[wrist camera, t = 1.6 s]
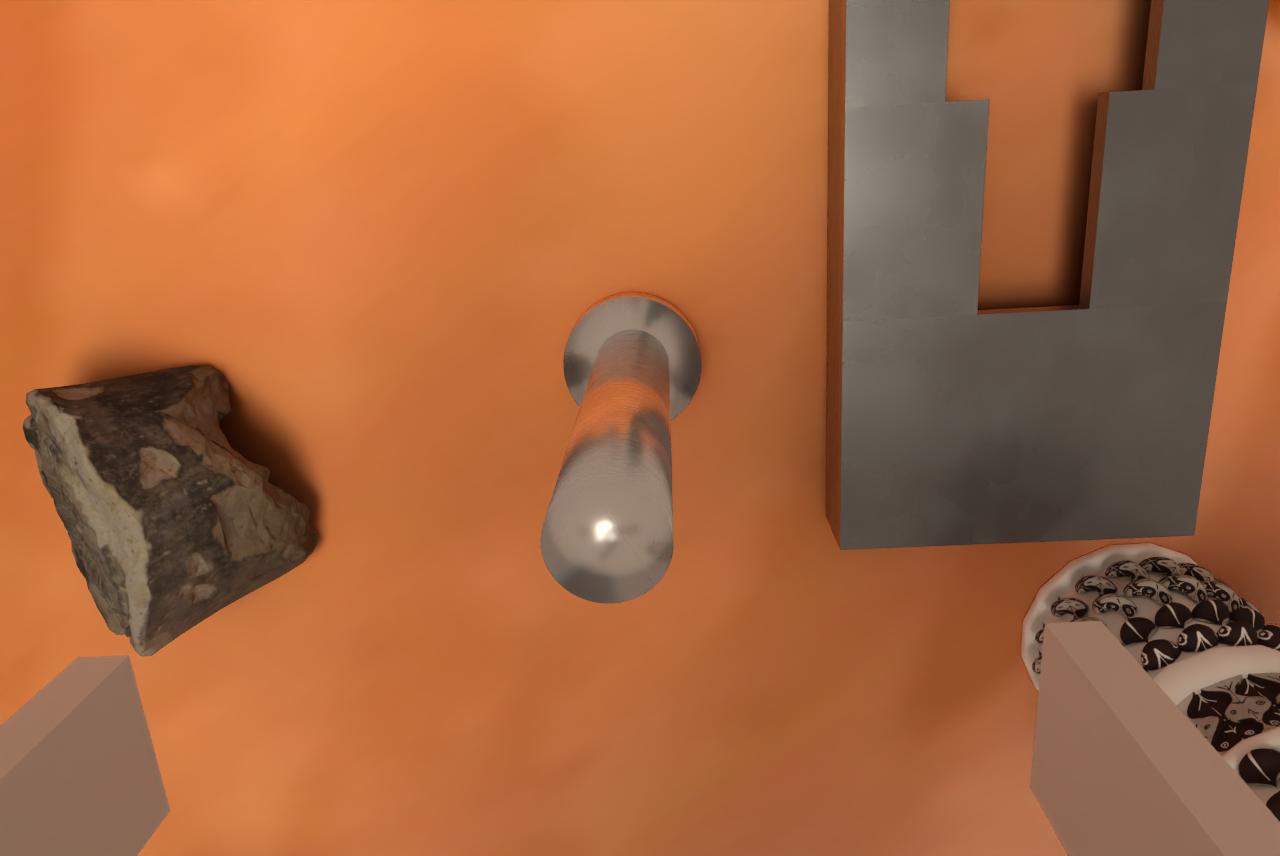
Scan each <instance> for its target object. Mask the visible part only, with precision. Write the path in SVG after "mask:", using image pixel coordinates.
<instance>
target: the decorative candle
mask: <svg viewBox="0 0 1280 856" xmlns="http://www.w3.org/2000/svg"><path fill="white" fill-rule="evenodd" d="M1088 621H1102V623H1103V624H1104V625H1105V626H1106V627H1107V628H1108V629H1109V630H1110V632H1111V633H1112V634H1113V635H1114V636H1115V637H1116V638H1117V639H1118V641H1119V642H1120V643H1121V644H1122V645H1123V646H1124V647H1125V648H1126V650H1127V651H1128V652H1129V653H1130V654H1131V655H1132V656H1133V657H1134V659H1135V660H1136V661H1137V662H1138V663H1139V664H1140V665H1141V666H1142V668H1143V669H1144V670H1145V671H1146V672H1147V673H1148V674H1149V675H1150V677H1151V678H1152V679H1153V680H1154V681H1155V682H1156V683H1157V684H1158V686H1159V687H1160V688H1161V689H1162V690H1163V691H1164V692H1165V693H1166V694H1167V696H1168V697H1169V698H1170V699H1171V700H1172V701H1173V702H1174V703H1175V705H1176V706H1177V707H1178V708H1179V709H1180V710H1181V711H1182V712H1183V714H1184V715H1185V716H1186V717H1187V718H1188V719H1189V720H1190V721H1191V723H1192V724H1193V725H1194V726H1195V727H1196V728H1197V729H1198V730H1199V732H1200V733H1201V734H1202V735H1203V736H1204V737H1205V738H1206V739H1207V741H1208V742H1209V743H1210V744H1211V745H1212V746H1213V747H1214V748H1215V750H1216V751H1217V752H1218V753H1219V754H1220V755H1221V756H1222V757H1223V759H1224V760H1225V761H1226V762H1227V763H1228V764H1229V765H1230V766H1231V768H1232V769H1233V770H1234V771H1235V772H1236V773H1237V774H1238V775H1239V777H1240V778H1241V779H1242V780H1243V781H1244V782H1245V783H1246V784H1247V786H1248V787H1249V788H1250V789H1251V790H1252V791H1253V792H1254V793H1255V795H1256V796H1257V797H1258V798H1259V799H1260V800H1261V801H1262V802H1263V803H1264V805H1265V806H1266V807H1267V808H1268V809H1269V810H1270V811H1271V812H1272V814H1273V815H1274V816H1275V817H1276V818H1277V819H1278V820H1279V821H1280V628H1279V627H1277V626H1274V625H1267V624H1266V623H1265V621H1264V617H1263V616H1262V615H1261V613H1260V612H1259V610H1258V609H1257V608H1256V607H1255V606H1254V605H1253V604H1252V603H1250V602H1249V601H1247V600H1245V599H1243V598H1241V597H1238V596H1237V594H1236V593H1235V592H1234V591H1233V590H1232V589H1231V588H1230V587H1229V586H1228V585H1227V584H1226V583H1224V582H1222V581H1221V580H1218V579H1215V578H1213V576H1212V575H1211V573H1210V572H1209V571H1207V570H1206V569H1205V568H1203V567H1201V566H1199V565H1198V564H1196V563H1195V562H1194V561H1193V560H1192V559H1191V558H1190V557H1189V556H1187V555H1186V554H1183V553H1180V552H1177V551H1174V550H1171V549H1168V548H1164V547H1161V546H1158V545H1155V544H1152V543H1137V544H1120V545H1108V546H1105V547H1103V548H1101V549H1098V550H1096V551H1093V552H1091V553H1089V554H1086V555H1084V556H1081V557H1079V558H1077V559H1074V560H1072V561H1070V562H1068V563H1067V564H1066V565H1065V566H1064V567H1063V568H1062V569H1061V570H1059V571H1058V572H1057V573H1056V574H1055V575H1054V576H1053V577H1052V578H1050V579H1049V580H1048V581H1047V582H1046V583H1045V584H1044V585H1043V586H1041V587H1040V589H1039V590H1038V592H1037V594H1036V596H1035V598H1034V600H1033V602H1032V604H1031V606H1030V608H1029V610H1028V612H1027V614H1026V616H1025V617H1024V619H1023V623H1022V641H1021V657H1022V659H1023V662H1024V664H1025V666H1026V668H1027V671H1028V673H1029V675H1030V678H1031V680H1032V682H1033V684H1034V686H1035V688H1036V689H1037V690H1038V691H1039V683H1040V672H1041V661H1042V650H1043V639H1044V629H1045V623H1059V622H1088Z"/></svg>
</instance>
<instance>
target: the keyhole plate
mask: <svg viewBox="0 0 1280 856" xmlns="http://www.w3.org/2000/svg"><path fill="white" fill-rule="evenodd" d="M949 3H950V0H829V56H828V230H827V404H826V517H827V520H828V522H829V524H830V527H831V529H832V532H833V534H834V536H835V539H836V541H837V543H838V546H839V548H840V550H847V549H871V548H896V547H921V546H945V545H970V544H995V543H1020V542H1044V541H1069V540H1094V539H1118V538H1143V537H1168V536H1193V535H1194V531H1195V524H1196V517H1197V510H1198V503H1199V496H1200V489H1201V482H1202V474H1203V467H1204V460H1205V453H1206V446H1207V439H1208V432H1209V425H1210V417H1211V410H1212V403H1213V396H1214V389H1215V382H1216V375H1217V368H1218V360H1219V353H1220V346H1221V339H1222V332H1223V325H1224V318H1225V311H1226V304H1227V296H1228V289H1229V282H1230V275H1231V268H1232V261H1233V254H1234V247H1235V239H1236V232H1237V225H1238V218H1239V211H1240V204H1241V197H1242V190H1243V183H1244V175H1245V168H1246V161H1247V154H1248V147H1249V140H1250V133H1251V126H1252V118H1253V111H1254V104H1255V97H1256V90H1257V83H1258V76H1259V69H1260V62H1261V54H1262V47H1263V40H1264V33H1265V26H1266V19H1267V12H1268V5H1269V0H1151V9H1150V18H1149V28H1148V37H1147V47H1146V57H1145V66H1144V76H1143V85H1142V90H1136V91H1120V92H1106V93H1098V103H1097V114H1096V125H1095V136H1094V147H1093V158H1092V169H1091V180H1090V191H1089V202H1088V213H1087V224H1086V235H1085V246H1084V257H1083V268H1082V279H1081V290H1080V301H1079V305H1069V306H1049V307H1030V308H1010V309H990V310H977V309H978V291H979V273H980V256H981V238H982V220H983V202H984V185H985V167H986V149H987V132H988V114H989V99H988V100H972V101H955V102H945V97H946V73H947V50H948V27H949Z"/></svg>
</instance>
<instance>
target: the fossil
mask: <svg viewBox="0 0 1280 856" xmlns="http://www.w3.org/2000/svg"><path fill="white" fill-rule="evenodd" d="M228 393H229V384H228V383H227V381H226V379H225V378H224V376H223V375H222V374H221V373H220V372H218V371H217V370H215V369H213V368H212V367H210V366H208V365H205V366H185V367H178V368H171V369H166V370H161V371H155V372H150V373H144V374H138V375H132V376H127V377H121V378H115V379H109V380H104V381H98V382H92V383H86V384H79V385H71V386H63V387H54V388H45V389H35V390H33V391H31V392H29V393H27V395H26V404H27V406H28V407H29V409H30V411H31V416H29V417H27V418H26V419H25V420H24V423H23V430H24V434H25V437H26V440H27V441H28V443H29V445H30V446H31V447H32V448H33V449H34V450H35V454H36V459H37V463H38V468H39V472H40V475H41V478H42V481H43V484H44V486H45V487H46V489H47V491H48V492H49V494H50V495H51V497H52V498H53V499H54V503H55V507H56V511H57V513H58V514H59V516H60V518H61V520H62V521H63V523H64V526H65V528H66V529H67V531H68V534H69V537H70V539H71V543H72V552H73V555H74V557H75V560H76V564H77V566H78V568H79V570H80V571H81V573H82V574H83V576H84V577H85V578H86V581H87V585H88V589H89V591H90V593H91V594H92V597H93V599H94V601H95V603H96V605H97V608H98V609H99V611H100V613H101V614H102V616H103V618H104V620H105V622H106V624H107V626H108V628H109V630H111V631H112V632H114V633H115V634H116V635H123V634H125V635H126V636H127V637H130V643H131V645H132V646H133V648H134V649H135V651H136V652H137V653H138V654H139V655H140V656H152V655H153V654H155V653H156V652H157V651H159V650H160V649H161V648H163V647H164V646H166V645H167V644H168V643H170V642H171V641H173V640H174V639H175V638H177V637H178V636H180V635H181V634H183V633H184V632H186V631H187V630H189V629H190V628H192V627H193V626H195V625H197V624H198V623H200V622H201V621H203V620H204V619H206V618H208V617H209V616H211V615H212V614H214V613H215V612H217V611H219V610H220V609H222V608H224V607H225V606H227V605H229V604H231V603H232V602H234V601H236V600H238V599H239V598H241V597H243V596H245V595H247V594H249V593H251V592H252V591H254V590H256V589H258V588H260V587H262V586H264V585H266V584H268V583H269V582H271V581H273V580H275V579H277V578H279V577H280V576H282V575H284V574H285V573H287V572H289V571H290V570H292V569H294V568H295V567H297V566H298V565H300V564H301V563H303V562H304V561H305V560H306V559H307V557H308V556H309V555H310V554H311V553H312V552H313V550H314V548H315V547H316V542H317V540H316V533H315V532H314V530H313V529H312V524H311V523H310V522H309V520H310V511H309V509H308V507H307V506H306V505H305V504H304V503H300V502H299V501H298V500H297V499H296V498H294V497H292V495H291V494H287V493H286V492H285V491H284V490H282V489H281V488H280V487H277V486H274V485H272V484H271V483H270V482H268V480H269V477H270V474H271V471H270V470H269V469H268V468H267V467H264V466H261V465H258V464H255V463H252V462H250V461H248V460H246V459H245V458H244V457H243V456H242V455H241V454H240V453H238V452H236V451H234V450H233V449H232V447H231V446H230V444H229V443H228V440H227V438H226V436H225V435H224V434H223V432H222V431H221V429H220V421H221V420H222V419H223V418H224V417H225V416H226V415H227V414H228V413H230V412H231V407H230V399H229V397H228Z"/></svg>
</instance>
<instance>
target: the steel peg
mask: <svg viewBox="0 0 1280 856" xmlns="http://www.w3.org/2000/svg"><path fill="white" fill-rule="evenodd" d="M564 374H565V379H566V383H567V386H568V388H569V391H570V393H571V395H572V397H573V398H574V400H575V402H576V403H577V404H578V405H579V407H580V410H579V413H578V416H577V419H576V422H575V426H574V429H573V432H572V435H571V438H570V442H569V445H568V448H567V451H566V454H565V457H564V461H563V464H562V467H561V470H560V473H559V476H558V480H557V483H556V486H555V489H554V492H553V496H552V499H551V502H550V505H549V508H548V511H547V515H546V518H545V521H544V524H543V528H542V533H541V550H542V555H543V558H544V561H545V564H546V566H547V568H548V570H549V571H550V573H551V574H552V576H553V577H554V578H555V580H556V581H557V582H558V583H559V584H560V585H561V586H562V587H564V588H565V589H566V590H568V591H569V592H571V593H572V594H574V595H576V596H578V597H580V598H583V599H585V600H589V601H593V602H598V603H619V602H624V601H628V600H631V599H634V598H637V597H639V596H641V595H643V594H644V593H646V592H647V591H649V590H650V589H651V588H653V587H654V586H655V585H656V584H657V583H658V582H659V581H660V579H661V578H662V577H663V575H664V574H665V572H666V571H667V568H668V566H669V564H670V561H671V558H672V553H673V508H672V463H671V420H672V419H673V418H675V417H676V416H677V415H678V414H679V413H681V412H682V411H683V410H684V408H685V407H686V406H687V405H688V404H689V402H690V401H691V399H692V397H693V396H694V394H695V391H696V389H697V386H698V383H699V380H700V374H701V356H700V349H699V344H698V340H697V337H696V335H695V332H694V330H693V328H692V326H691V324H690V323H689V321H688V320H687V319H686V317H685V316H684V315H683V314H682V313H681V312H680V311H679V310H678V309H677V308H676V307H675V306H673V305H672V304H671V303H669V302H667V301H665V300H664V299H661V298H659V297H657V296H654V295H650V294H646V293H640V292H627V293H619V294H616V295H612V296H609V297H607V298H604V299H602V300H601V301H599V302H597V303H595V304H594V305H593V306H591V307H590V308H589V309H588V310H587V311H586V312H585V313H584V314H583V315H582V316H581V317H580V319H579V320H578V321H577V323H576V325H575V327H574V328H573V330H572V332H571V334H570V337H569V339H568V342H567V345H566V349H565V353H564Z"/></svg>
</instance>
